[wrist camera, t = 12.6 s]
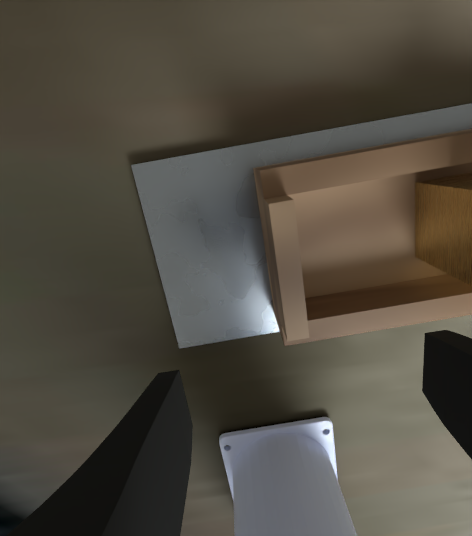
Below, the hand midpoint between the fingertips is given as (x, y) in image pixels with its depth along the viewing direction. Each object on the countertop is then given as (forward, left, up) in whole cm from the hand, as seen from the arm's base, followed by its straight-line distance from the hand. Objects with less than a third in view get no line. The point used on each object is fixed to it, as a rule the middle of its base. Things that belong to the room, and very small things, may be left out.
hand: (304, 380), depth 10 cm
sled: (+1, -10, -10) cm, 14 cm away
